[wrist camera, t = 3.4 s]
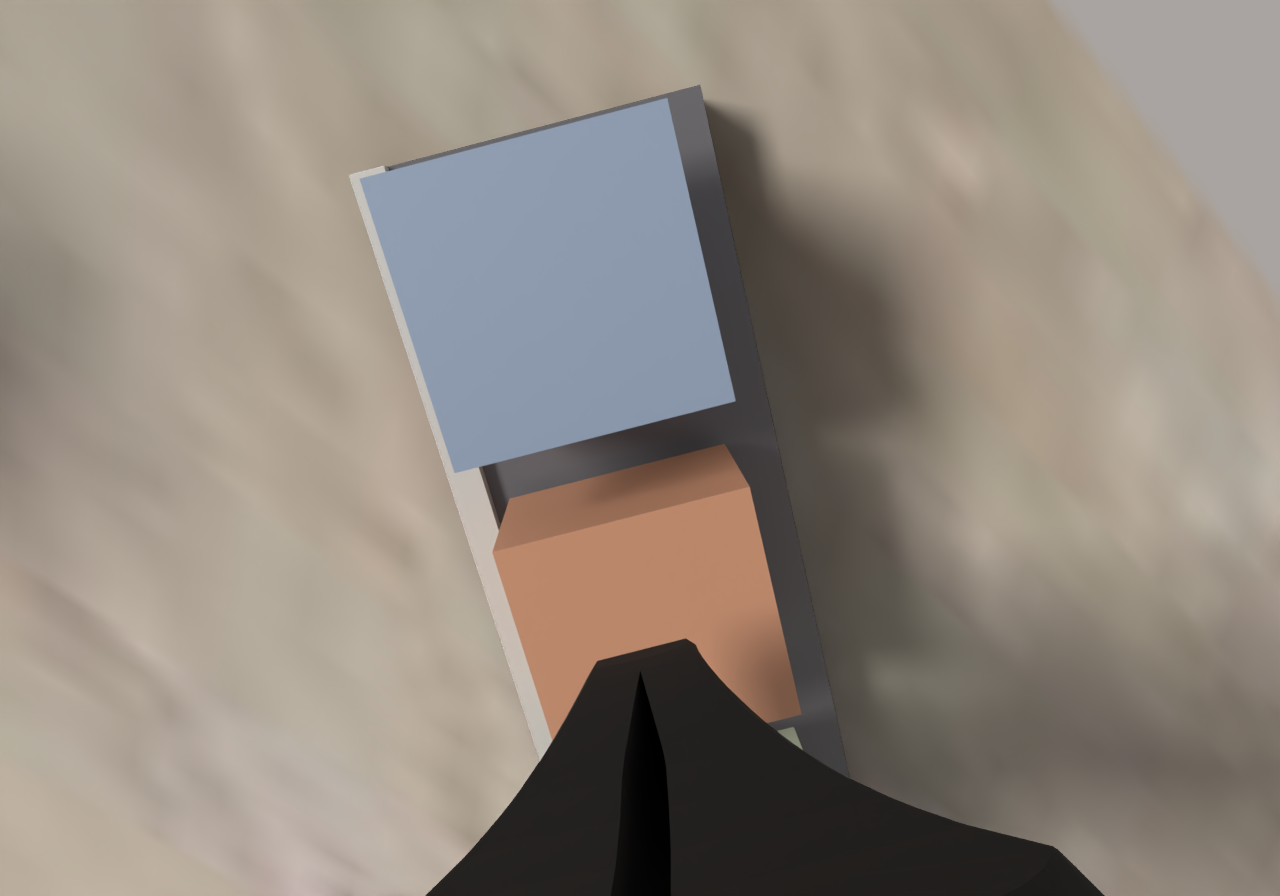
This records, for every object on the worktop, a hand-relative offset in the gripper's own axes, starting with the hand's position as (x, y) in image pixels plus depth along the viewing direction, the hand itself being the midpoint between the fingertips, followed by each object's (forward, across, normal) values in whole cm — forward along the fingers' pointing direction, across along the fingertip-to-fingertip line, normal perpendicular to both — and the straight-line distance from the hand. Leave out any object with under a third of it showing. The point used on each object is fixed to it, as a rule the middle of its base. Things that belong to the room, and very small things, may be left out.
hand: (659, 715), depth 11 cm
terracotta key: (+5, 0, 0) cm, 5 cm away
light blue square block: (+4, 0, -6) cm, 7 cm away
